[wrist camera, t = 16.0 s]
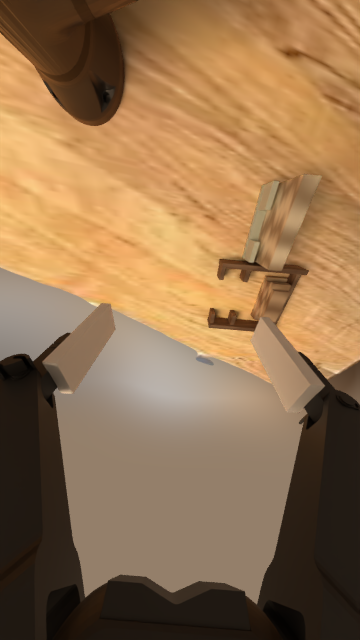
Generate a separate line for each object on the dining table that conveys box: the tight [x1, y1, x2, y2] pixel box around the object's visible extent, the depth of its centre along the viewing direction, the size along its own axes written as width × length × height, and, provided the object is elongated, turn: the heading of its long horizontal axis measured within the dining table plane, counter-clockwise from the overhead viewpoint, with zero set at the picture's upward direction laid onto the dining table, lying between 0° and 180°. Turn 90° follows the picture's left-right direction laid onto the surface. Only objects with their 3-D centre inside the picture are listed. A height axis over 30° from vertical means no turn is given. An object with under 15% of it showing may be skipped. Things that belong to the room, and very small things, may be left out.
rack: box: [207, 259, 309, 331], centre depth 49 cm, size 21×23×6 cm
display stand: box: [242, 181, 279, 263], centre depth 38 cm, size 16×8×6 cm, turn 176°
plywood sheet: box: [254, 174, 322, 271], centre depth 35 cm, size 16×3×11 cm, turn 176°
